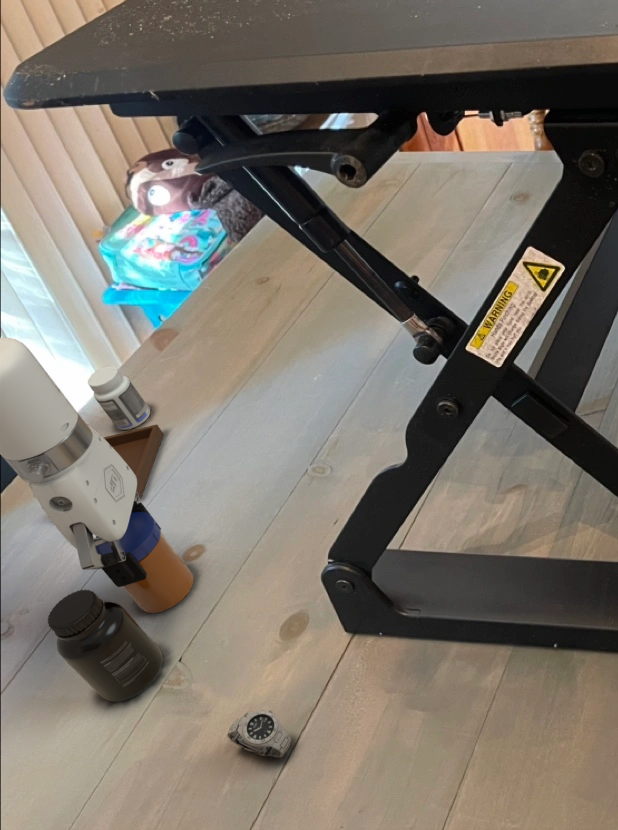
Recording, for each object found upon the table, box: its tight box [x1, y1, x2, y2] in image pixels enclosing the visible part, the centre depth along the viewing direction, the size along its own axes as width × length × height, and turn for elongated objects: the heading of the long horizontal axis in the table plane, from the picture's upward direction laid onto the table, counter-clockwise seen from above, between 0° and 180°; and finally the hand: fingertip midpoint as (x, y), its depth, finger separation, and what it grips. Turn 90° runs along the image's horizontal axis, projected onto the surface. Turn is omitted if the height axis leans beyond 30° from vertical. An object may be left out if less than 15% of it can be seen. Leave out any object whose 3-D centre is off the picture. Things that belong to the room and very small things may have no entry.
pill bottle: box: [87, 365, 151, 431], centre depth 147 cm, size 5×5×8 cm
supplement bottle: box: [47, 588, 164, 702], centre depth 110 cm, size 7×7×12 cm
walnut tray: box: [102, 424, 164, 499], centre depth 140 cm, size 11×12×2 cm
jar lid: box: [95, 512, 162, 562], centre depth 117 cm, size 7×7×2 cm
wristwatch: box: [226, 710, 292, 759], centre depth 103 cm, size 4×6×5 cm, turn 74°
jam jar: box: [122, 532, 194, 614], centre depth 120 cm, size 6×6×9 cm
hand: (138, 554), depth 119 cm, fingers closed on jar lid, 6 cm apart
